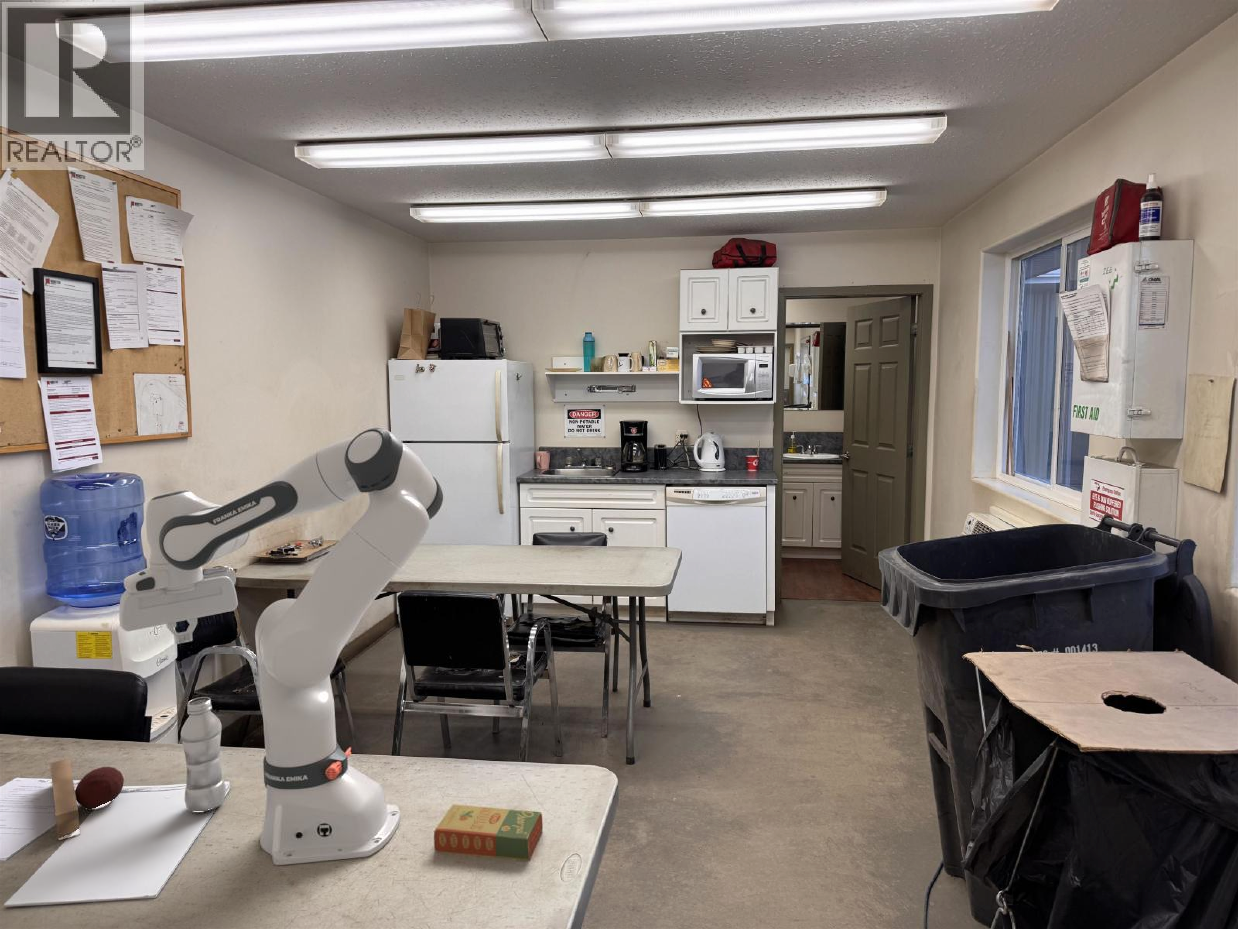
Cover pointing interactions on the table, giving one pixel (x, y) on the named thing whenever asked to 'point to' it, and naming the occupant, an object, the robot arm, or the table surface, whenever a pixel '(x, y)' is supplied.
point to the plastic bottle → (202, 756)
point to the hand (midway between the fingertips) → (183, 642)
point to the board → (64, 798)
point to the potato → (99, 787)
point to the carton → (489, 832)
